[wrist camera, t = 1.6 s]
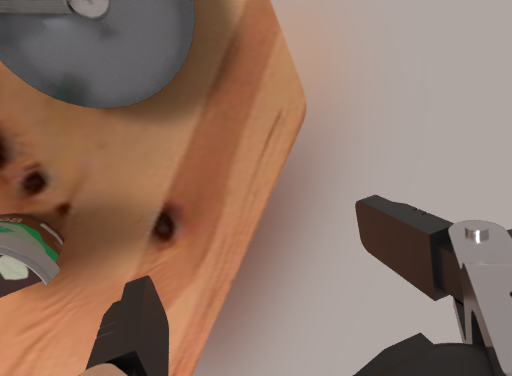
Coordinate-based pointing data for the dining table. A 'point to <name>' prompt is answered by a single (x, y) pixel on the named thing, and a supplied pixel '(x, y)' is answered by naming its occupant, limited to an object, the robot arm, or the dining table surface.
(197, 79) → the dining table surface
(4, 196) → the dining table surface
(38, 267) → the food container
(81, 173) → the dining table surface
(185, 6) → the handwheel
